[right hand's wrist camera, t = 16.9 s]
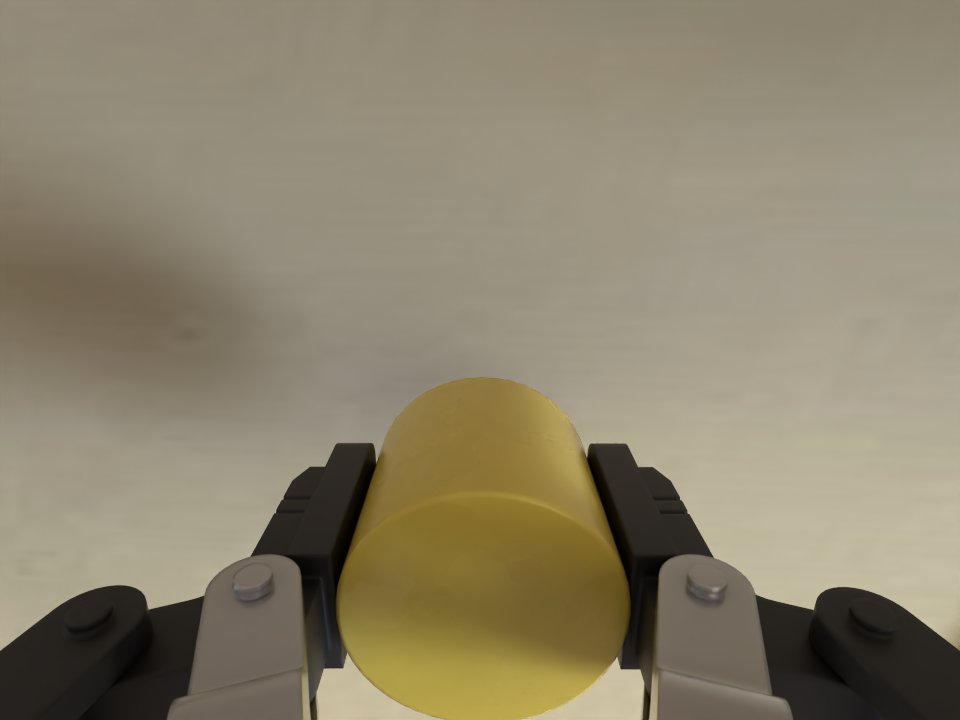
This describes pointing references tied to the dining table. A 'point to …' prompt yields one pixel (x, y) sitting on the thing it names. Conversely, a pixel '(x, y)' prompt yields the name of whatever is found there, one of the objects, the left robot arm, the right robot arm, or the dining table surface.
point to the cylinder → (483, 559)
